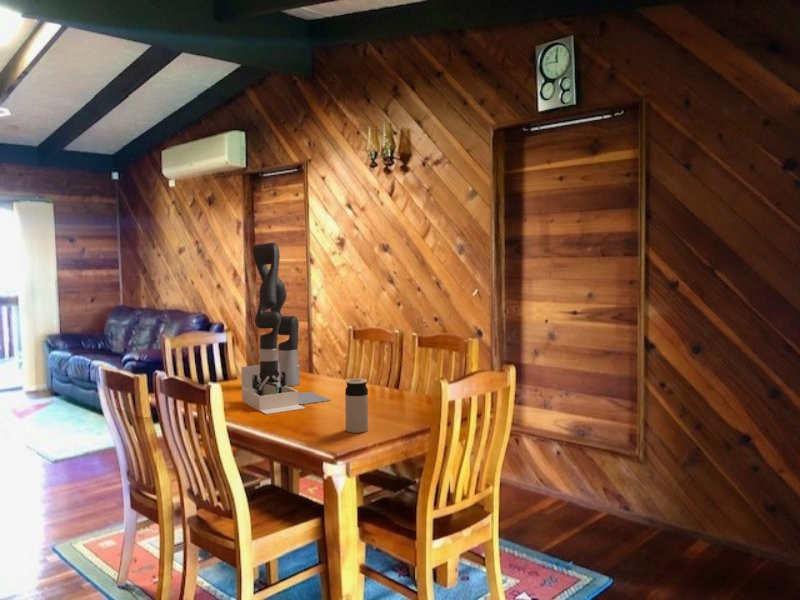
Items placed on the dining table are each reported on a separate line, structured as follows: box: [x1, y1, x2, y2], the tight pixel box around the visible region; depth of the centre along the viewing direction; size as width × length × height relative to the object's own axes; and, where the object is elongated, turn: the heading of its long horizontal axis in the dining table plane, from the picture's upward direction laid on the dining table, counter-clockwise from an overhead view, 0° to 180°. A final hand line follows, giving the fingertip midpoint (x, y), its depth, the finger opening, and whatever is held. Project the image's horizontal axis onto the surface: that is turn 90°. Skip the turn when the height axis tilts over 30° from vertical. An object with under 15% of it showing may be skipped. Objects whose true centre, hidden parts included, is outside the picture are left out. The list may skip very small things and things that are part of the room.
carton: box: [240, 362, 307, 416], centre depth 268 cm, size 17×27×15 cm, turn 34°
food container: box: [255, 379, 280, 396], centre depth 271 cm, size 12×6×10 cm, turn 64°
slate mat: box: [298, 391, 332, 406], centre depth 281 cm, size 14×20×1 cm
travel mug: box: [344, 378, 369, 434], centre depth 229 cm, size 8×8×18 cm
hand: (269, 397), depth 271 cm, fingers open, 7 cm apart
